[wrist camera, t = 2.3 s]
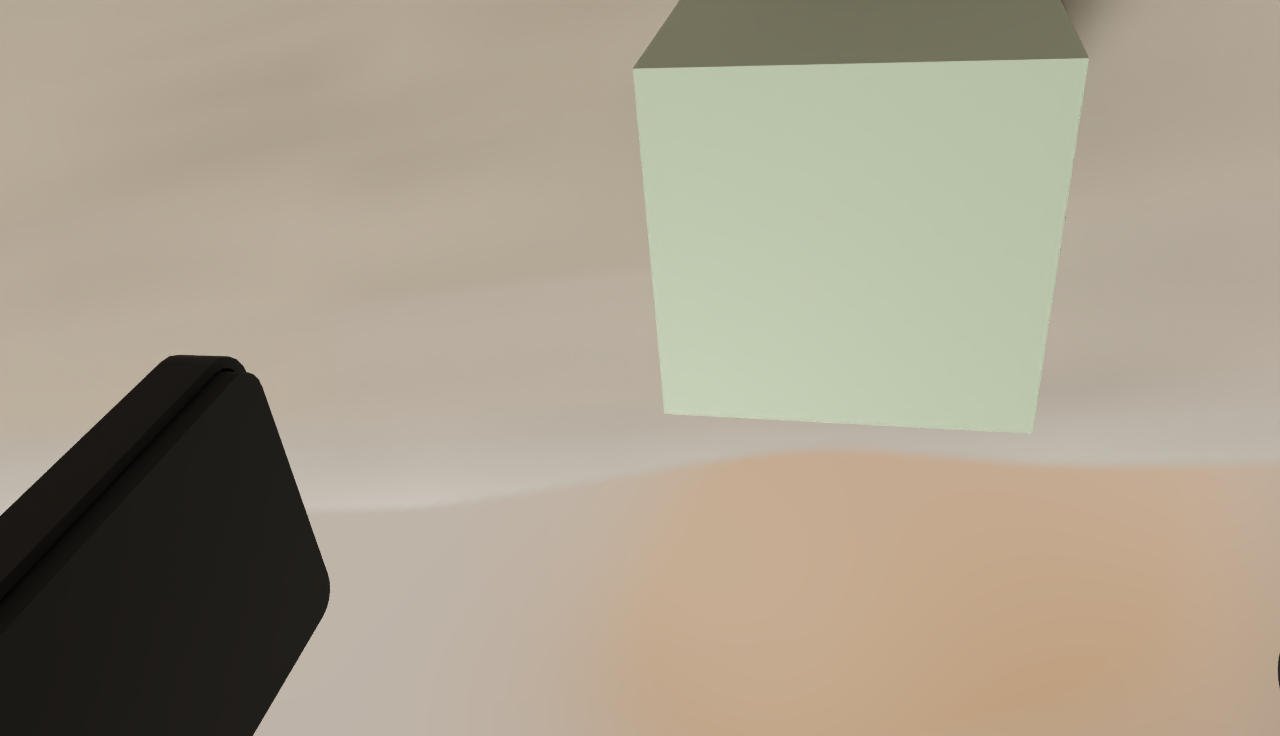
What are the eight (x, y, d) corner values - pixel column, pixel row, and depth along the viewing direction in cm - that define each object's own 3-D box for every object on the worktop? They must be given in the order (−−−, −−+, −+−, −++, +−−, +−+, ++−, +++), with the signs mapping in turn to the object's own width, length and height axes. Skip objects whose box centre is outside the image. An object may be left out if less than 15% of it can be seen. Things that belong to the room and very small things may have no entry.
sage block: (1020, -85, 17) (1088, 58, 11) (990, 189, 20) (1032, 434, 14) (727, -69, 18) (633, 69, 12) (737, 188, 21) (664, 413, 15)
